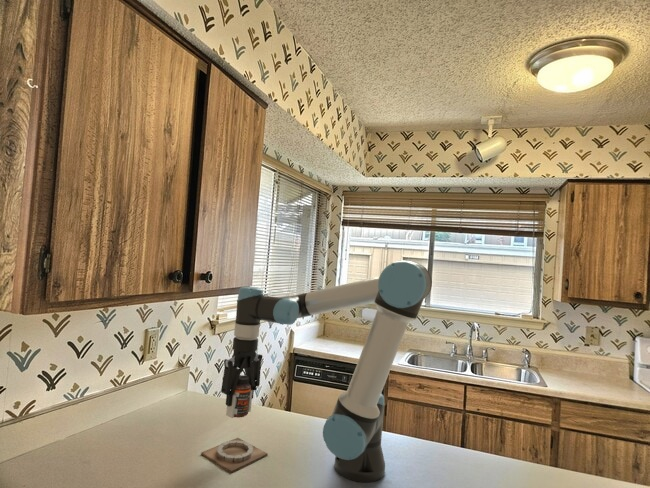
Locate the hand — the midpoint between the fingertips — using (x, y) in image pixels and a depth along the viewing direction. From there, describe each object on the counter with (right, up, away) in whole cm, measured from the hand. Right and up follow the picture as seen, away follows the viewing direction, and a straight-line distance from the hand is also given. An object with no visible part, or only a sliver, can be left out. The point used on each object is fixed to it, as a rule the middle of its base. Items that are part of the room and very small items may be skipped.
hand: (238, 413), depth 116 cm
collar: (-1, -13, -1) cm, 13 cm away
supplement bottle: (0, -1, 0) cm, 1 cm away
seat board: (-1, -13, -1) cm, 13 cm away
